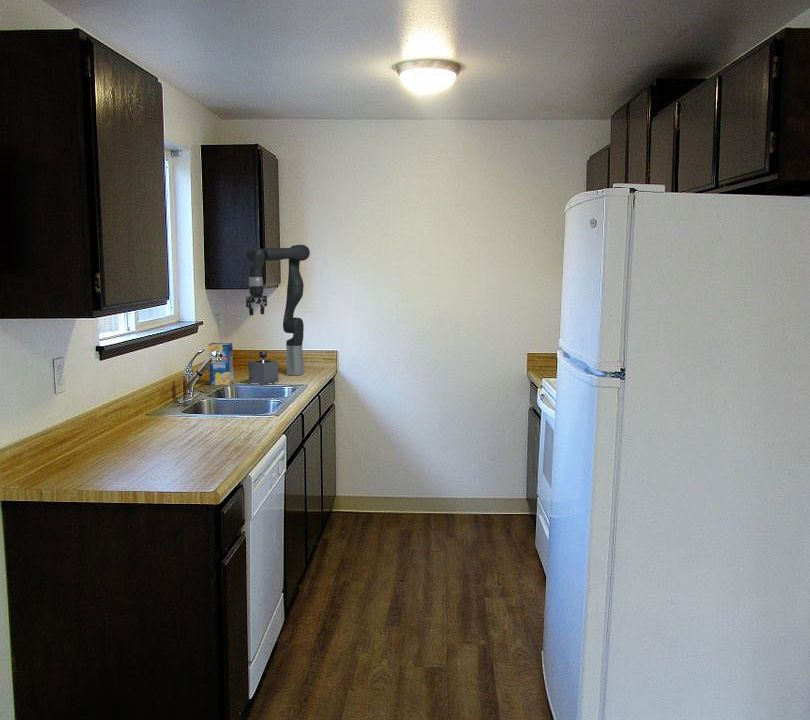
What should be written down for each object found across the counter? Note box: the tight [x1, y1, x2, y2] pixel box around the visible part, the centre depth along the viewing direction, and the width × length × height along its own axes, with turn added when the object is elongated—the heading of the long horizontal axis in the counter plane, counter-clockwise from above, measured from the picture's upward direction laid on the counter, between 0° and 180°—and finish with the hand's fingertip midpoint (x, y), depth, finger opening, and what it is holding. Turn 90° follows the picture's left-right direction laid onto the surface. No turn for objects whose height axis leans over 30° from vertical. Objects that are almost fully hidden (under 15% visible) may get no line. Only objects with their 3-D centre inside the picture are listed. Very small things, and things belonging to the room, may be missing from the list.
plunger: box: [258, 350, 268, 363], centre depth 397 cm, size 8×8×16 cm
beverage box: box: [208, 342, 235, 386], centre depth 394 cm, size 7×11×22 cm, turn 87°
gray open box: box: [247, 359, 279, 385], centre depth 398 cm, size 11×11×12 cm
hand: (256, 314), depth 407 cm, fingers open, 8 cm apart
